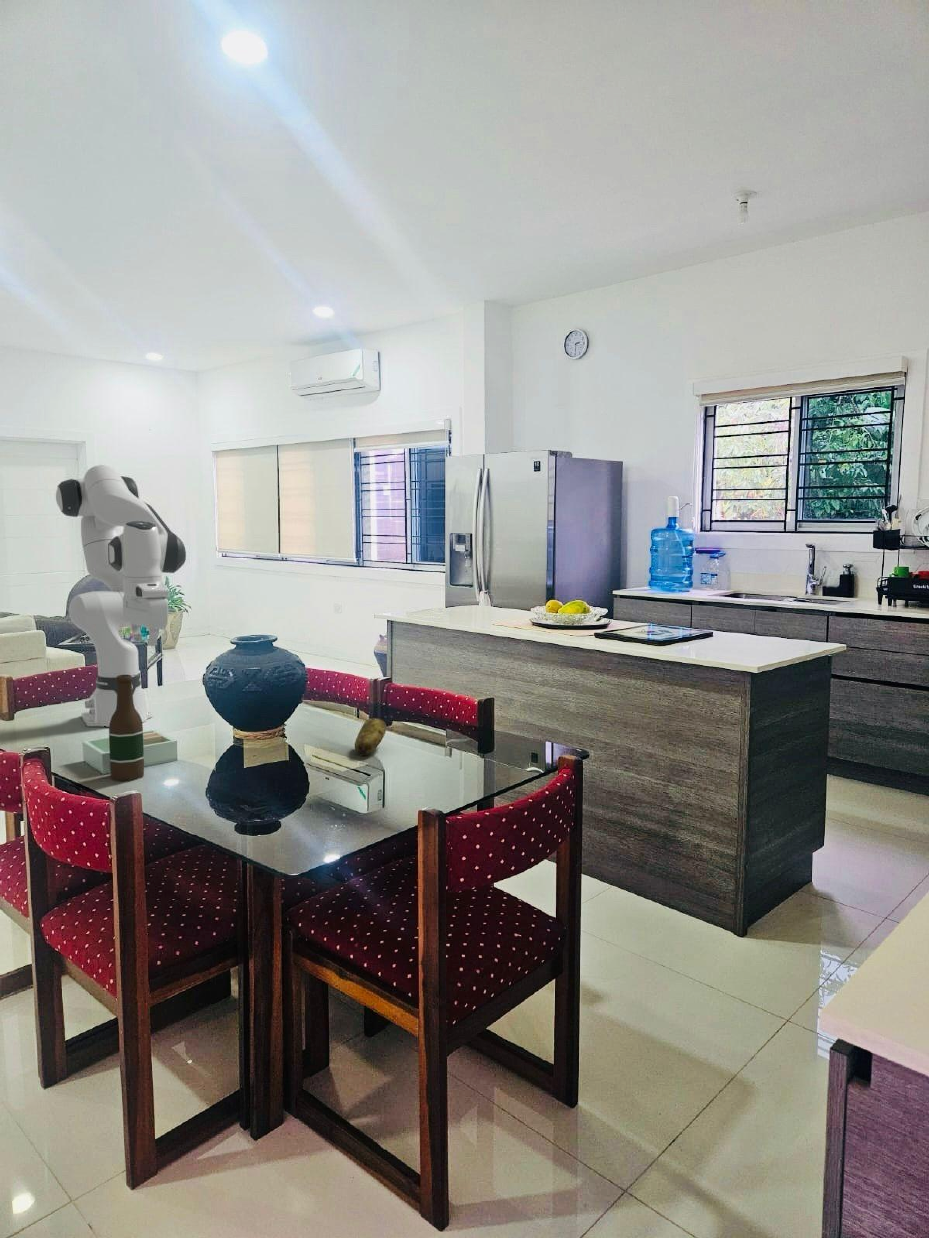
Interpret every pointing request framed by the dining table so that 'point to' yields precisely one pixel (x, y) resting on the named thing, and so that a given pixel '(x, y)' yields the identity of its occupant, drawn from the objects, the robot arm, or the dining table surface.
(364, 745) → the potato
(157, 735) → the beech cube
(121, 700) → the beer bottle
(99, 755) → the tote
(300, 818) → the dining table surface
